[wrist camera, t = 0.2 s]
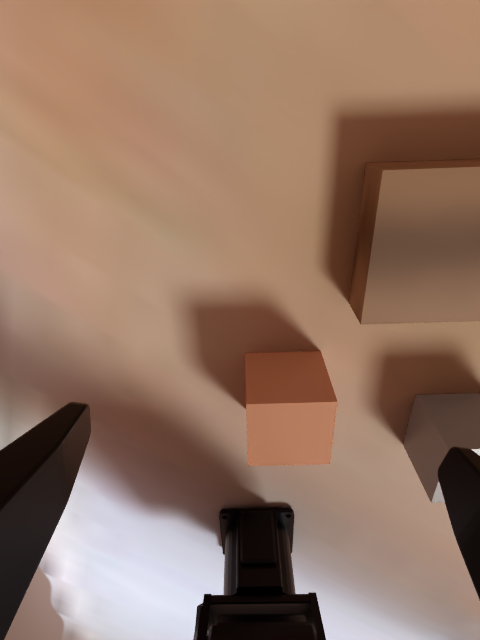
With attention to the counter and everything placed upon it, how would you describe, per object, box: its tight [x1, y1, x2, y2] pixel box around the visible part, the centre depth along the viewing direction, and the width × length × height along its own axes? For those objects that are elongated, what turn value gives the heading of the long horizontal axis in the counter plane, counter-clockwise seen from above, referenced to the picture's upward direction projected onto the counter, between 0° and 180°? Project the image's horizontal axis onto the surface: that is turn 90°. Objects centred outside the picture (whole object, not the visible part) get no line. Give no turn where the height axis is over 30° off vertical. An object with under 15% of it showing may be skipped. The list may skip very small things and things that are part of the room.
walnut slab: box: [349, 159, 480, 324], centre depth 20 cm, size 8×8×3 cm
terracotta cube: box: [245, 351, 337, 466], centre depth 24 cm, size 5×5×5 cm
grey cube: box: [403, 393, 480, 503], centre depth 26 cm, size 5×5×5 cm
